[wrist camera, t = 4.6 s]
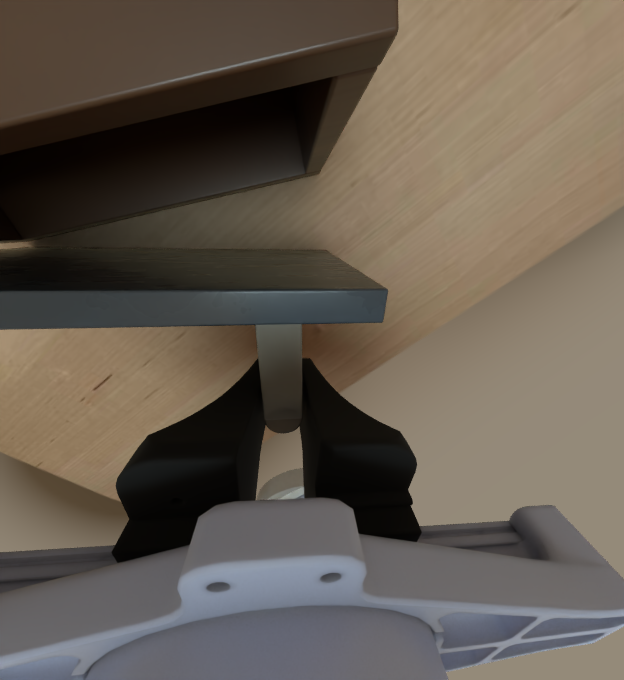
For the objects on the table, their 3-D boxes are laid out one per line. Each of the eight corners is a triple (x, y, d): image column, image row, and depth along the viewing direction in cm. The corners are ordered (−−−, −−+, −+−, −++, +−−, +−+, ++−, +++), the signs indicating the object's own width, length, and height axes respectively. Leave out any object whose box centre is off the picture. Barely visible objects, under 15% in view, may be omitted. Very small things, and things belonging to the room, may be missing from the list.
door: (322, 343, 16) (359, 470, 8) (77, 349, 15) (-204, 512, 6) (326, 249, 13) (389, 288, 5) (27, 247, 12) (-575, 293, 4)
